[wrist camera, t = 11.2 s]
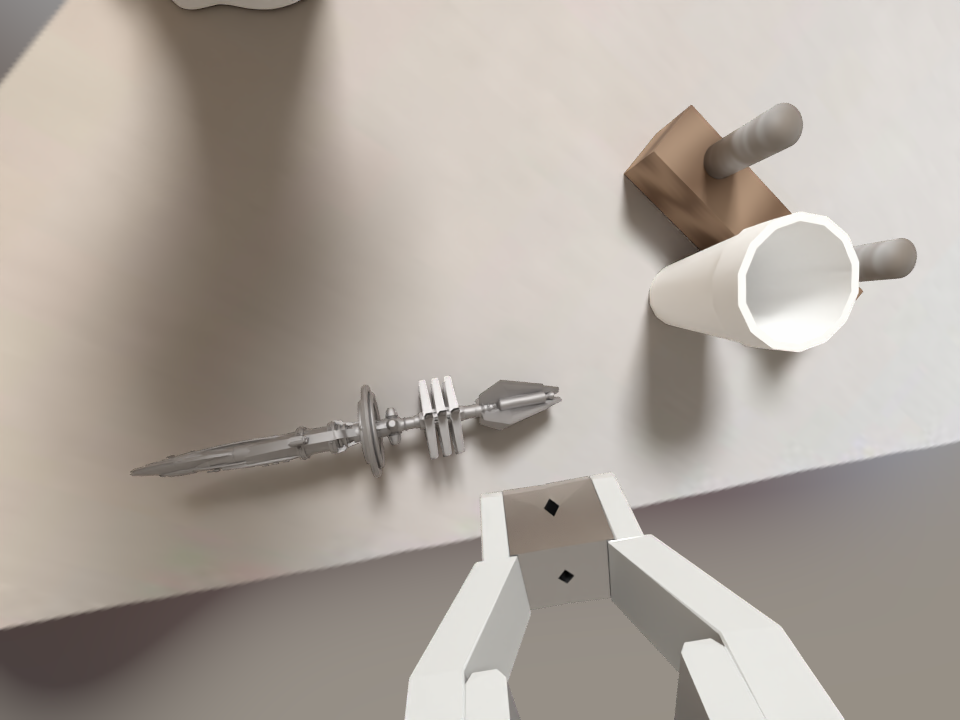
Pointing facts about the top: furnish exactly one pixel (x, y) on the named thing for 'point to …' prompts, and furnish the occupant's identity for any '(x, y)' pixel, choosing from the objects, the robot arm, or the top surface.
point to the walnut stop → (736, 184)
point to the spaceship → (372, 430)
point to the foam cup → (765, 285)
